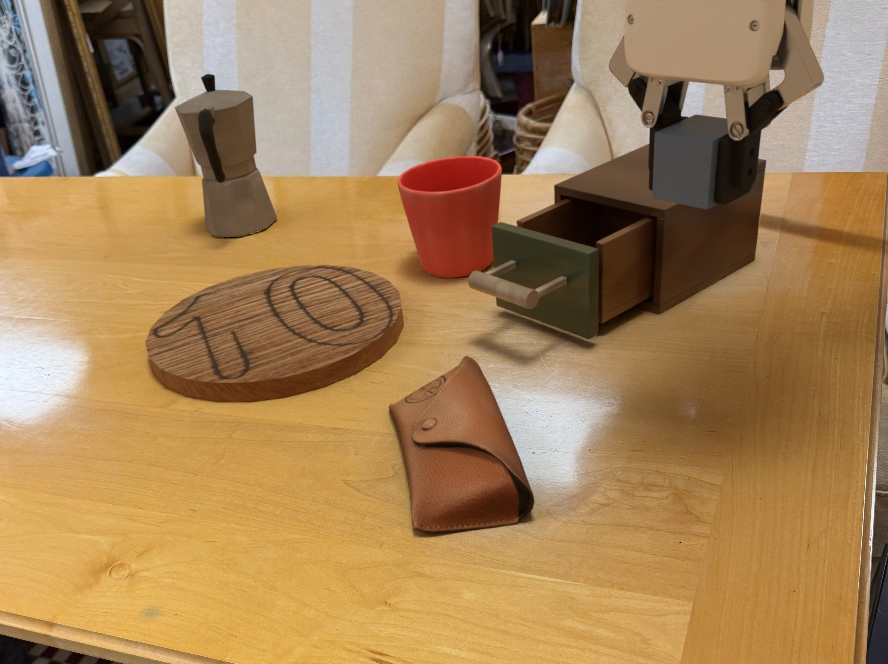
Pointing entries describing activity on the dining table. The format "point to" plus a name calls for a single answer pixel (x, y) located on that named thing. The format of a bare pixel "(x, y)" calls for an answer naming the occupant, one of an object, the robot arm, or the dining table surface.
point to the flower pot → (452, 212)
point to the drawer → (572, 264)
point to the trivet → (275, 333)
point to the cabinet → (676, 226)
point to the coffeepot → (227, 160)
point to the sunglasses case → (460, 455)
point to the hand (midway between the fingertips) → (699, 188)
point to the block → (688, 161)
